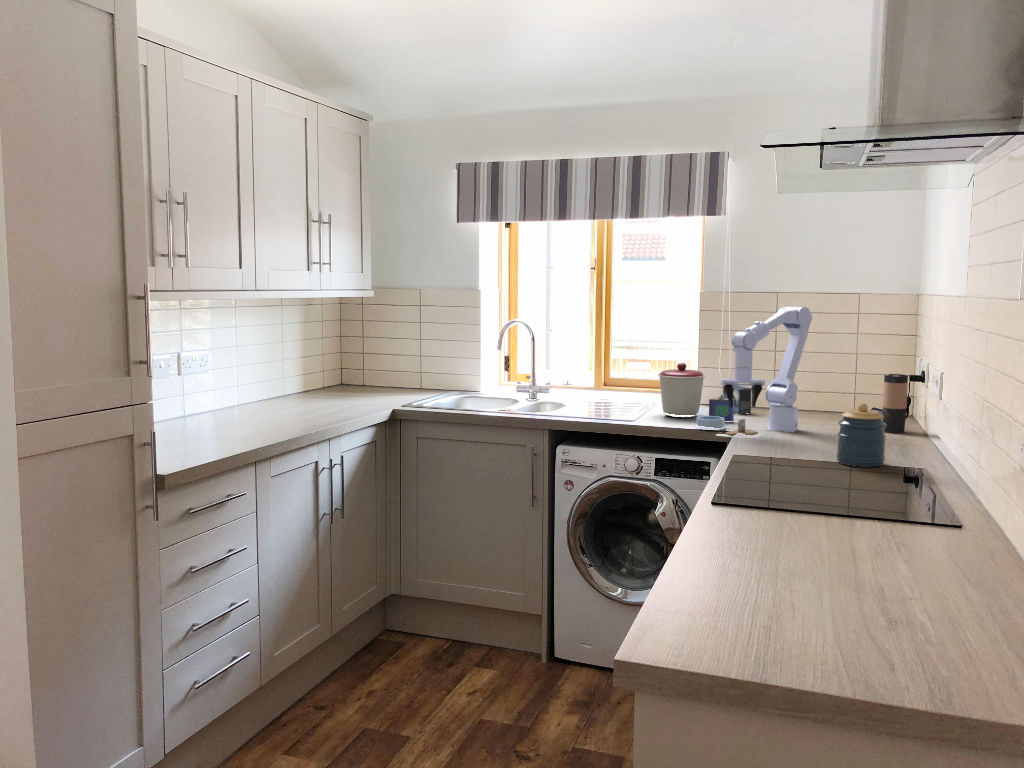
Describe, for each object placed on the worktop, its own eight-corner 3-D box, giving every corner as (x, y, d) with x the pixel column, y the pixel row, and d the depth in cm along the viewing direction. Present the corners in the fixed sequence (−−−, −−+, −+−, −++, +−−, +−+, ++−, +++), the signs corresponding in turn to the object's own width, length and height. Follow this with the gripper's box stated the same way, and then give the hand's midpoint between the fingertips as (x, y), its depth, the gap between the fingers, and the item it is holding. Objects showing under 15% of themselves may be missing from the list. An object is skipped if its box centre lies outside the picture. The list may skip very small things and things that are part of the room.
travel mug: (907, 434, 298) (910, 376, 296) (883, 433, 300) (886, 376, 297) (902, 430, 306) (905, 374, 303) (879, 429, 307) (882, 373, 305)
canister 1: (695, 421, 325) (697, 365, 322) (650, 417, 334) (651, 363, 331) (710, 415, 341) (711, 361, 338) (666, 411, 350) (667, 359, 347)
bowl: (727, 428, 310) (727, 417, 310) (719, 432, 302) (719, 420, 302) (701, 425, 315) (701, 415, 315) (692, 429, 307) (692, 418, 307)
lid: (761, 433, 299) (762, 418, 298) (752, 438, 290) (753, 422, 289) (730, 430, 305) (730, 415, 304) (720, 435, 295) (721, 420, 295)
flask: (732, 422, 324) (733, 393, 323) (734, 423, 321) (735, 394, 320) (708, 421, 325) (708, 393, 323) (709, 423, 322) (710, 394, 320)
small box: (721, 411, 350) (721, 385, 348) (734, 410, 352) (734, 385, 351) (738, 415, 340) (739, 388, 339) (751, 414, 343) (752, 388, 341)
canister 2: (827, 462, 252) (830, 403, 250) (850, 456, 260) (853, 399, 258) (870, 470, 242) (873, 408, 240) (892, 463, 250) (896, 403, 248)
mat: (767, 433, 299) (767, 432, 299) (756, 440, 288) (756, 439, 288) (727, 430, 307) (727, 429, 307) (715, 436, 295) (715, 435, 295)
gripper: (761, 366, 298) (760, 404, 300) (719, 366, 298) (718, 404, 300) (767, 368, 291) (765, 407, 293) (724, 368, 291) (723, 408, 293)
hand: (742, 406), depth 296 cm, fingers open, 7 cm apart
